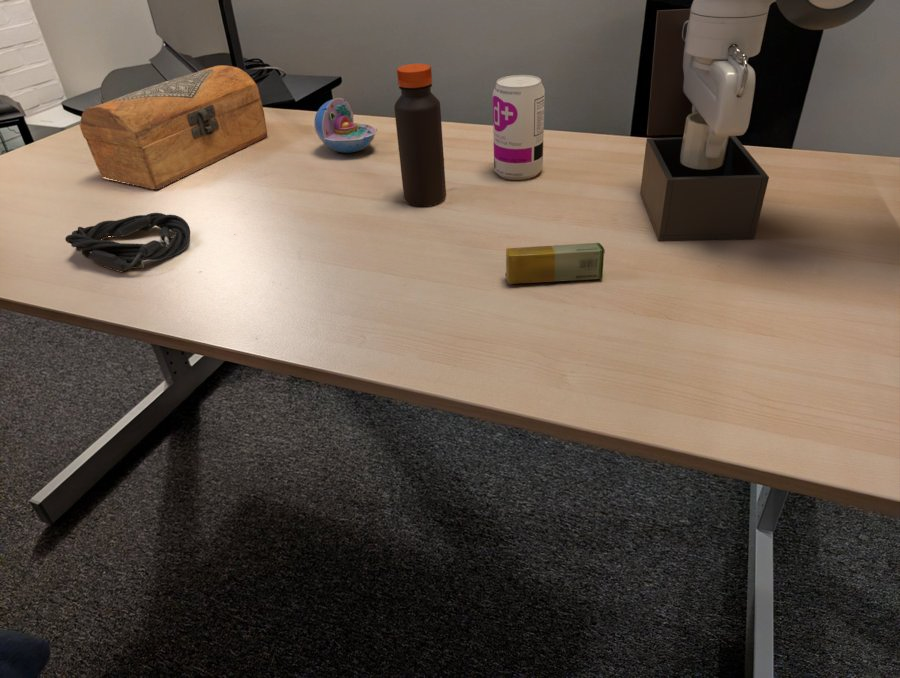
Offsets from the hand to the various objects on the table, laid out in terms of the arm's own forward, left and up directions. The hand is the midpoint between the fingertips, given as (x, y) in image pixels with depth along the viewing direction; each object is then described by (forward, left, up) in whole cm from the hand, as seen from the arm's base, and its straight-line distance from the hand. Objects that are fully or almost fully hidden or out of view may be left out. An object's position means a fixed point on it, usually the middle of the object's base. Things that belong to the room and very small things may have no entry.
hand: (704, 146), depth 88 cm
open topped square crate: (0, 0, -10) cm, 10 cm away
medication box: (+21, +17, -10) cm, 29 cm away
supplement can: (+25, -18, -10) cm, 32 cm away
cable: (+82, +7, -10) cm, 83 cm away
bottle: (+40, -8, -10) cm, 42 cm away
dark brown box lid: (0, -9, +7) cm, 11 cm away
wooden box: (+88, -30, -10) cm, 94 cm away
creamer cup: (0, 0, -2) cm, 2 cm away
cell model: (+57, -31, -10) cm, 66 cm away
